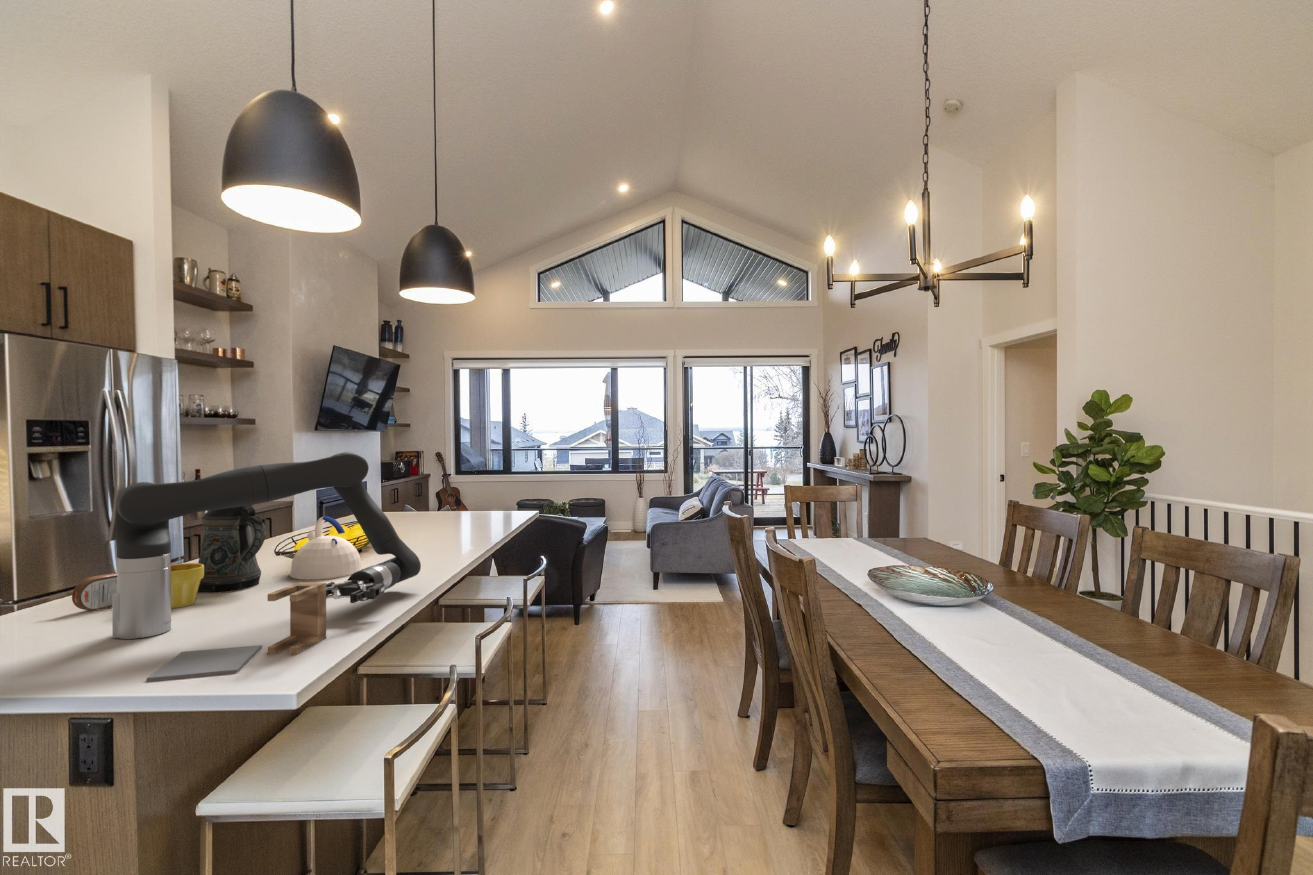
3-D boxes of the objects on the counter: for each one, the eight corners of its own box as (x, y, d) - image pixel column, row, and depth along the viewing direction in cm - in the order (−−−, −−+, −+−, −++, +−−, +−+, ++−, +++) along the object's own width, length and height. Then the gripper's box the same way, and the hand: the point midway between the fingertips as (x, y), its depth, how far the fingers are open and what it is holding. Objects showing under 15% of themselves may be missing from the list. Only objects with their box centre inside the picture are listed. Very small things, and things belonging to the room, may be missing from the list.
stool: (299, 637, 134) (299, 582, 134) (326, 638, 134) (326, 582, 134) (267, 654, 124) (267, 594, 124) (296, 654, 124) (296, 594, 124)
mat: (146, 681, 110) (146, 677, 110) (181, 654, 124) (181, 651, 124) (237, 672, 114) (237, 669, 114) (261, 647, 128) (261, 644, 128)
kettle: (341, 563, 213) (341, 510, 212) (374, 571, 200) (374, 515, 200) (277, 574, 196) (277, 517, 196) (309, 583, 184) (308, 522, 184)
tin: (140, 598, 166) (140, 567, 166) (148, 600, 165) (148, 568, 165) (70, 613, 152) (70, 579, 152) (78, 615, 151) (78, 580, 151)
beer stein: (206, 581, 186) (206, 498, 186) (279, 577, 191) (279, 496, 191) (181, 595, 170) (180, 504, 170) (261, 590, 175) (261, 501, 175)
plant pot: (211, 602, 162) (211, 565, 162) (163, 612, 153) (163, 572, 153) (193, 597, 168) (193, 561, 168) (146, 606, 159) (146, 568, 159)
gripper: (343, 566, 158) (303, 581, 142) (397, 567, 157) (363, 582, 141) (343, 596, 158) (303, 614, 142) (397, 597, 157) (363, 615, 141)
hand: (333, 598), depth 142 cm, fingers open, 8 cm apart
